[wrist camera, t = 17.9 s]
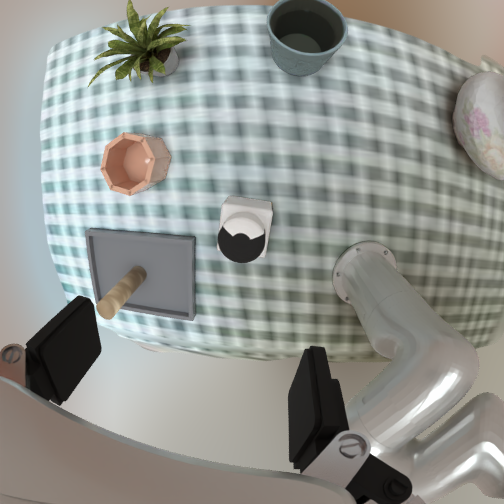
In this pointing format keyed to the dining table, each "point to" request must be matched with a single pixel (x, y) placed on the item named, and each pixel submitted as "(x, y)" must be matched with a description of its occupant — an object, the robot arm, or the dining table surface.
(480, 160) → the ceramic pitcher
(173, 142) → the dining table surface
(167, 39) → the house plant
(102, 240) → the tray
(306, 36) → the blue-grey plant pot
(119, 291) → the dowel
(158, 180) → the cup
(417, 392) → the robot arm
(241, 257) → the medicine bottle
